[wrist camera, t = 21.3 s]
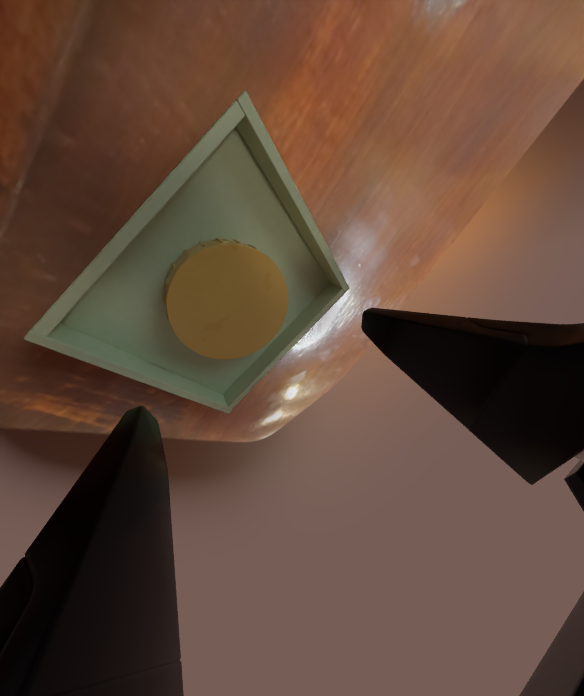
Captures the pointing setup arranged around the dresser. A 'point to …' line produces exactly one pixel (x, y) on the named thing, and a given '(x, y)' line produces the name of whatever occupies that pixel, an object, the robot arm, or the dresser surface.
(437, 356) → the robot arm
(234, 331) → the lid
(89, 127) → the dresser surface
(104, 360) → the tray
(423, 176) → the dresser surface
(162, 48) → the dresser surface
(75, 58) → the dresser surface
